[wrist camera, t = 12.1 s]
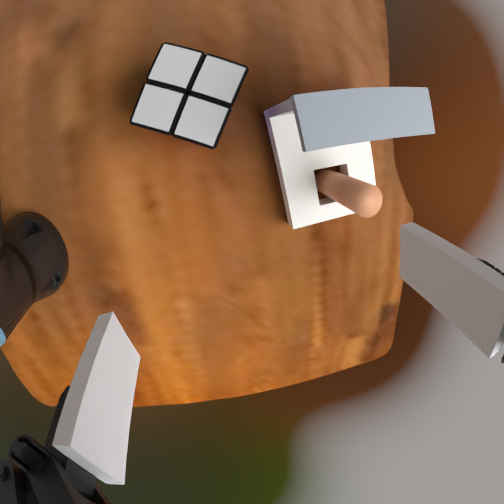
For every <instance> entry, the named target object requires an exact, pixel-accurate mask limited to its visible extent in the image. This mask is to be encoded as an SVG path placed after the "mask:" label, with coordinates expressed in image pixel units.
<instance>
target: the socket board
mask: <svg viewBox="0 0 504 504" xmlns="http://www.w3.org/2000/svg"><path fill="white" fill-rule="evenodd" d="M263 112H264V116H265V120H266V124H267V128H268V132H269V137H270V141H271V145H272V150H273V154H274V158H275V163H276V167H277V172H278V176H279V181H280V186H281V190H282V195H283V200H284V205H285V209H286V214H287V219H288V223H289V224H290V226H291V227H292V228H293V229H296V228H300V227H304V226H307V225H311V224H315V223H319V222H323V221H326V220H330V219H334V218H338V217H342V216H345V215H349V214H353V213H355V212H353V211H351V210H350V209H348V208H346V207H345V206H343V205H341V204H340V203H338V202H336V201H334V200H333V199H331V198H329V197H328V198H324V199H320V200H319V198H318V192H317V187H316V181H315V175H314V170H317V169H322V168H327V167H332V166H337V165H339V168H340V173H341V174H344V175H347V176H350V177H353V178H356V179H358V180H361V181H364V182H367V183H369V184H372V185H375V186H376V183H375V174H374V166H373V159H372V152H371V145H370V141H374V140H381V139H389V138H396V137H405V136H415V135H425V134H435V128H434V122H433V115H432V108H431V103H430V97H429V93H428V88H423V87H373V88H354V89H341V90H330V91H320V92H312V93H304V94H297V95H292V96H290V99H288V100H285V101H283V102H281V103H279V104H277V105H275V106H273V107H271V108H269V109H267V110H265V111H263Z"/></svg>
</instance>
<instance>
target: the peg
mask: <svg viewBox="0 0 504 504" xmlns="http://www.w3.org/2000/svg"><path fill="white" fill-rule="evenodd" d="M315 181H316V187H317V190H318V191H319V192H320V193H322V194H324V195H326V196H327V197H329V198H331V199H333V200H334V201H336V202H338V203H340V204H341V205H343V206H345V207H346V208H348V209H350V210H351V211H353V212H355V213H356V214H358V215H360V216H362V217H365V218H368V217H372V216H374V215H375V214H376V213H377V212H378V211H379V209H380V207H381V205H382V194H381V192H380V190H379V189H378V188H377V187H376V186H375V185H372V184H369V183H367V182H364V181H361V180H358V179H356V178H353V177H350V176H347V175H344V174H341V173H338V172H335V171H332V170H329V169H323V170H320V171H319V172H318V173H317V174H316V175H315Z"/></svg>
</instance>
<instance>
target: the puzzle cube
mask: <svg viewBox="0 0 504 504" xmlns="http://www.w3.org/2000/svg"><path fill="white" fill-rule="evenodd" d="M248 70H249V69H248V67H247V66H245V65H242V64H239V63H236V62H234V61H231V60H228V59H225V58H222V57H218V56H215V55H212V54H206V55H205V54H204V52H202V51H199V50H195V49H192V48H188V47H184V46H180V45H176V44H172V43H167V42H165V43H163V44H162V45H161V47H160V49H159V51H158V53H157V55H156V57H155V59H154V62H153V64H152V66H151V68H150V70H149V73H148V75H147V77H146V80H147V82H146V83H144V85H143V87H142V89H141V92H140V94H139V97H138V99H137V102H136V105H135V107H134V110H133V113H132V115H131V118H130V123H131V125H135V126H139V127H142V128H146V129H149V130H153V131H156V132H160V133H163V134H167V135H173V137H176V138H179V139H182V140H185V141H188V142H191V143H195V144H198V145H201V146H204V147H207V148H210V149H214V148H216V146H217V144H218V141H219V139H220V136H221V134H222V131H223V129H224V126H225V124H226V121H227V119H228V116H229V114H230V112H231V108H232V106H233V105H234V102H235V100H236V97H237V95H238V93H239V91H240V88H241V86H242V84H243V81H244V79H245V77H246V75H247V73H248Z"/></svg>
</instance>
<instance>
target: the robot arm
mask: <svg viewBox="0 0 504 504" xmlns="http://www.w3.org/2000/svg"><path fill="white" fill-rule="evenodd" d="M67 272H68V255H67V250H66V247H65V244H64V242H63V239H62V237H61V235H60V234H59V232H58V231H57V229H56V228H55V227H54V225H53V224H52V223H51V222H50V221H48V220H47V219H46V218H45V217H43V216H41V215H39V214H37V213H32V212H25V213H22V214H19V215H17V216H16V217H14V218H12V219H11V220H10V221H9V222H8V223H7V224H6V225H5V226H4V228H3V222H2V212H1V201H0V346H1V345H3V344H4V343H5V341H6V339H7V338H8V336H9V335H10V334H11V332H12V331H13V329H14V328H15V327H16V325H17V324H18V322H19V321H20V320H21V318H22V317H23V316H24V314H25V313H26V312H27V310H28V309H29V308H30V307H31V305H32V304H33V303H35V302H37V301H39V300H42V299H44V298H46V297H49V296H51V295H52V294H54V293H55V292H56V291H57V290H58V289H59V287H60V286H61V285H62V284H63V282H64V281H65V279H66V276H67ZM399 277H400V278H401V279H403V280H404V281H405V282H406V283H407V284H409V285H410V286H411V287H412V288H413V289H415V290H416V291H417V292H418V293H419V294H420V295H421V296H423V297H424V298H425V299H426V300H427V301H428V302H430V303H431V304H432V305H433V306H434V307H435V308H436V309H437V310H438V311H440V312H441V313H442V314H443V315H444V316H445V317H446V318H447V319H449V320H450V321H451V322H452V323H453V324H454V325H455V326H456V327H457V328H458V329H459V330H460V331H461V332H462V333H463V334H464V335H466V337H468V338H469V339H470V340H471V341H472V342H473V343H474V344H475V345H476V346H477V347H478V348H479V349H480V350H481V351H482V352H483V353H484V354H485V355H486V356H487V357H488V358H489V359H490V358H491V357H492V356H493V355H495V354H496V353H497V352H498V351H499V350H500V349H501V347H502V345H503V343H504V273H502V271H500V270H499V269H497V268H496V269H495V267H494V266H493V265H491V264H489V263H488V262H486V261H484V260H481V259H478V258H474V257H473V256H472V255H470V254H468V253H467V252H465V251H463V250H462V249H460V248H458V247H456V246H455V245H453V244H451V243H449V242H448V241H446V240H444V239H442V238H441V237H439V236H437V235H435V234H434V233H432V232H430V231H428V230H426V229H424V228H423V227H421V226H419V225H417V224H415V223H413V222H410V223H407V224H404V225H401V226H400V276H399ZM139 362H140V356H139V354H138V353H137V351H136V349H135V348H134V346H133V345H132V343H131V341H130V340H129V338H128V336H127V335H126V333H125V331H124V330H123V328H122V326H121V325H120V323H119V321H118V319H117V318H116V316H115V314H114V312H109V313H106V314H102V315H99V316H98V318H97V321H96V323H95V325H94V327H93V330H92V332H91V334H90V337H89V339H88V341H87V344H86V346H85V349H84V351H83V354H82V356H81V359H80V361H79V364H78V366H77V369H76V372H75V374H74V377H73V380H72V383H71V385H70V386H67V387H66V389H65V390H64V392H63V393H62V394H61V396H60V399H59V402H58V404H57V409H56V410H55V413H54V418H53V420H52V423H51V426H50V429H49V433H48V437H47V440H46V444H45V447H43V446H42V445H40V444H39V443H38V442H37V441H36V440H35V439H33V438H32V437H31V436H29V435H28V434H22V435H20V436H18V437H16V438H15V439H14V440H13V442H12V444H11V446H10V448H9V453H8V454H9V459H10V460H11V461H12V462H11V461H10V460H8V459H1V460H0V504H111V502H110V501H109V500H108V498H107V497H106V495H105V494H104V493H103V491H102V489H101V488H100V487H99V486H98V485H97V484H95V482H96V477H97V478H98V479H100V480H101V481H103V482H105V483H106V484H124V483H125V468H126V456H127V446H128V436H129V428H130V420H131V412H132V405H133V398H134V392H135V385H136V379H137V373H138V368H139ZM502 363H504V355H503V357H502ZM13 462H14V463H15V464H16V465H15V464H14V463H13Z"/></svg>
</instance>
